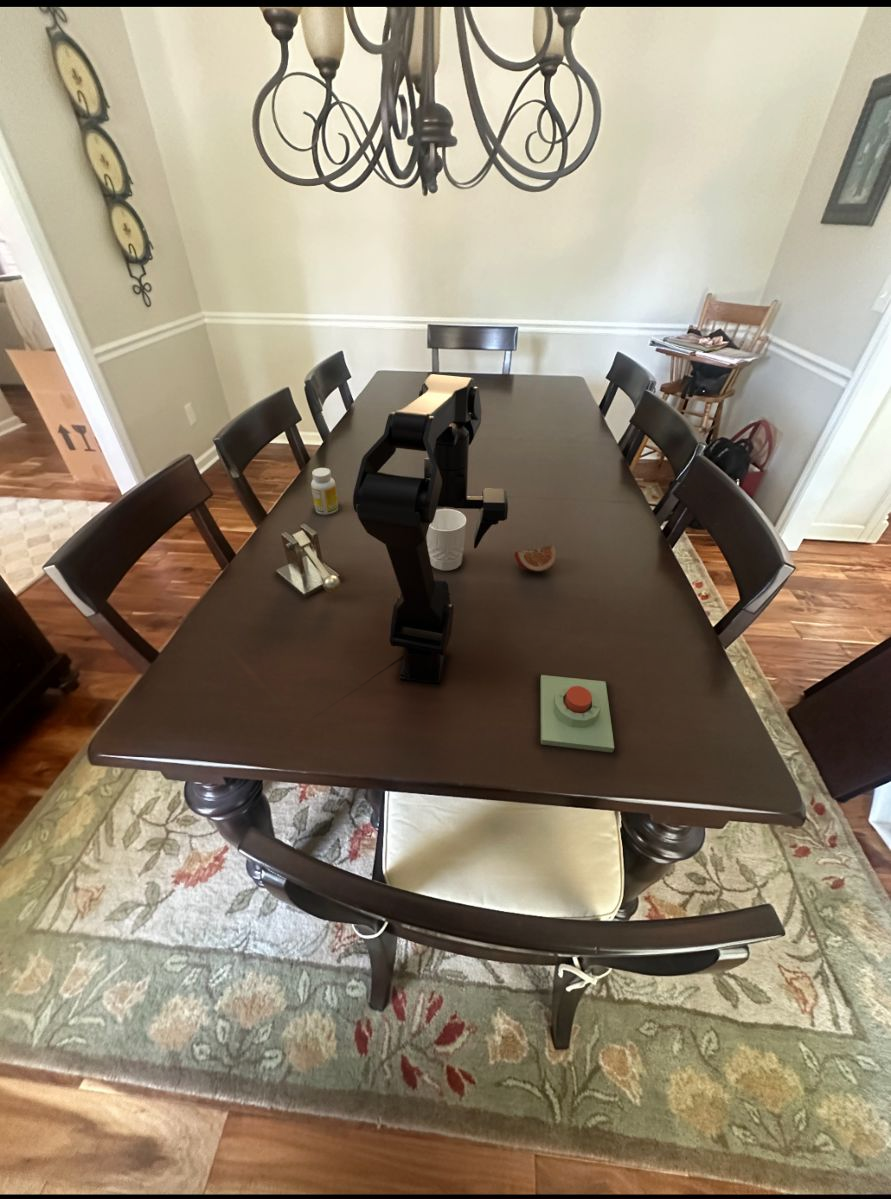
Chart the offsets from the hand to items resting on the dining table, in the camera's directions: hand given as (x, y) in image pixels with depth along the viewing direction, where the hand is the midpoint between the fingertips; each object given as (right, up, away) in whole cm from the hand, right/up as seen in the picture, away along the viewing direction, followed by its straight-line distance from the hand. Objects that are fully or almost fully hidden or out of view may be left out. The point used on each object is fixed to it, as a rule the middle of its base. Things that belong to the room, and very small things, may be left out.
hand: (448, 546), depth 89 cm
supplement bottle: (-28, +12, +32) cm, 44 cm away
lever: (-25, -3, +8) cm, 26 cm away
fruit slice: (+17, -3, +15) cm, 23 cm away
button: (+19, -24, -13) cm, 33 cm away
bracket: (-27, -5, +12) cm, 30 cm away
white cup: (0, -1, +17) cm, 17 cm away
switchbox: (+19, -26, -12) cm, 34 cm away
